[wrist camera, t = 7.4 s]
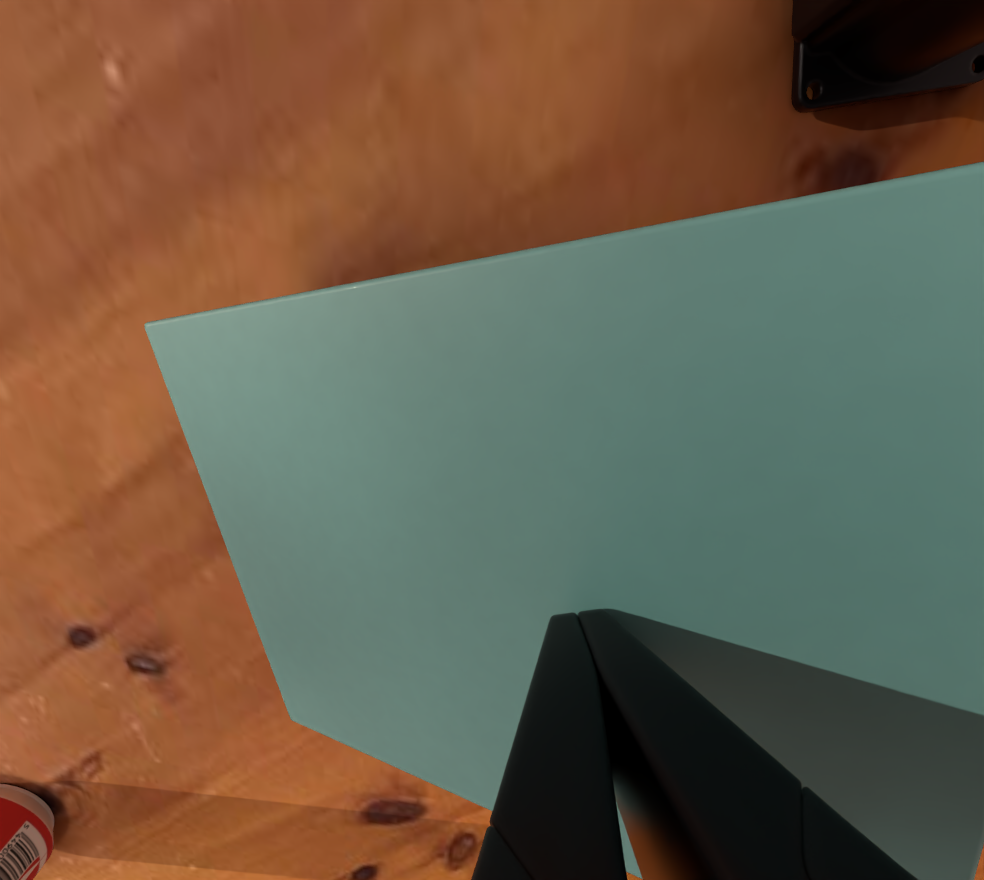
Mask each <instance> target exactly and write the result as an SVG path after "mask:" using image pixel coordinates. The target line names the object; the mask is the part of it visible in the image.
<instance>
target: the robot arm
mask: <svg viewBox="0 0 984 880" xmlns="http://www.w3.org/2000/svg"><path fill="white" fill-rule="evenodd" d="M792 36H793V38H794V57H793V78H792V105H793V106H794V108H795V109H796V110H797V111H799V112H811V111H818V110H824V109H830V108H836V107H842V106H849V105H855V104H861V103H867V102H874V101H880V100H886V99H892V98H898V97H905V96H911V95H917V94H923V93H930V92H936V91H942V90H948V89H954V88H961V87H966V86H968V85H971V84H973V83H976V82H978V81H981V80H983V79H984V0H793V15H792ZM973 62H974V63H975V70H974V72H973V70H972V63H973ZM808 87H810V88H811V89H812V90H813V93H814V95H813V99H812V100H811V99H809V98H808V97H807V93H806V92H807V88H808ZM616 802H617V804H616ZM617 805H618V808H619V811H620V814H621V817H622V820H623V823H624V826H625V829H626V831H627V834H628V837H629V840H630V843H631V846H632V849H633V852H634V855H635V858H636V861H637V864H638V867H639V870H640V873H641V876H642V879H643V880H918V879H917V878H916V877H914V876H913V875H912V874H911V873H909V872H908V871H907V870H905V869H904V868H903V867H902V866H900V865H899V864H898V863H897V862H896V861H894V860H893V859H892V858H891V857H890V856H888V855H887V854H886V853H885V852H884V851H883V850H881V849H880V848H879V847H878V846H877V845H875V844H874V843H873V842H872V841H871V840H869V839H868V838H867V837H866V836H865V835H863V834H862V833H861V832H860V831H859V830H857V829H856V828H855V827H854V826H853V825H851V824H850V823H849V822H848V821H847V820H846V819H844V818H843V817H842V816H841V815H840V814H838V813H837V812H836V811H835V810H834V809H833V808H832V807H830V806H829V805H828V804H827V803H826V802H825V801H824V800H822V799H821V798H820V797H819V796H818V795H817V794H816V793H814V792H813V791H812V790H811V789H810V788H808V787H803V788H802V784H801V781H800V780H799V779H798V778H797V777H796V776H794V775H793V774H792V773H791V772H790V771H789V770H788V769H786V768H785V767H784V766H783V765H782V764H781V763H780V762H778V761H777V760H776V759H775V758H774V757H773V756H772V755H770V754H769V753H768V752H767V751H766V750H765V749H763V748H762V747H761V746H760V745H759V744H758V743H757V742H755V741H754V740H753V739H752V738H751V737H750V736H749V735H747V734H746V733H745V732H744V731H743V730H742V729H741V728H739V727H738V726H737V725H736V724H735V723H734V722H732V721H731V720H730V719H729V718H728V717H727V716H726V715H724V714H723V713H722V712H721V711H720V710H719V709H718V708H716V707H715V706H714V705H713V704H712V703H711V702H709V701H708V700H707V699H706V698H705V697H704V696H703V695H701V694H700V693H699V692H698V691H697V690H696V689H695V688H693V687H692V686H691V685H690V684H689V683H688V682H687V681H685V680H684V679H683V678H682V677H681V676H680V675H678V674H677V673H676V672H675V671H674V670H673V669H672V668H670V667H669V666H668V665H667V664H666V663H665V662H664V661H662V660H661V659H660V658H659V657H658V656H657V655H656V654H654V653H653V652H652V651H651V650H650V649H649V648H647V647H646V646H645V645H644V644H643V643H642V642H641V641H639V640H638V639H637V638H636V637H635V636H634V635H633V634H631V633H630V632H629V631H628V630H627V629H626V628H625V627H623V626H622V625H621V624H620V623H619V622H618V621H616V620H615V619H614V618H613V617H612V616H611V615H610V614H608V613H607V612H606V611H605V610H603V609H594V610H586V611H580V612H579V613H578V615H577V614H576V613H573V612H571V613H564V614H557V615H553V616H551V618H550V620H549V623H548V627H547V630H546V633H545V637H544V640H543V643H542V647H541V650H540V654H539V657H538V660H537V664H536V667H535V670H534V674H533V677H532V680H531V684H530V687H529V690H528V694H527V697H526V701H525V704H524V707H523V711H522V714H521V717H520V721H519V724H518V727H517V731H516V734H515V737H514V741H513V744H512V748H511V751H510V754H509V758H508V761H507V764H506V768H505V771H504V774H503V778H502V781H501V784H500V788H499V791H498V795H497V798H496V801H495V805H494V808H493V811H492V815H491V818H490V825H491V826H489V827H488V828H487V830H486V834H485V837H484V840H483V844H482V847H481V850H480V854H479V857H478V860H477V864H476V867H475V870H474V873H473V876H472V879H471V880H627V875H626V868H625V861H624V854H623V847H622V840H621V833H620V825H619V818H618V811H617Z"/></svg>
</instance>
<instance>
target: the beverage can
mask: <svg viewBox="0 0 984 880" xmlns="http://www.w3.org/2000/svg"><path fill="white" fill-rule="evenodd" d="M53 828H54V816H53V813H52V811H51V809H50V808H49V806H48V805H47V804H46V803H45V802H44V801H43V800H42V799H41V798H39V797H38V796H37V795H35V794H33V793H31V792H30V791H27V790H25V789H22V788H19V787H16V786H12V785H7V784H0V880H33V878H34V877H35V876H36V874H37V873H38V872H39V870H40V869H41V868H42V866H43V865H44V864H45V862H46V861H47V860H48V858H49V857H50V855H51V853H52V850H53V844H54V841H53Z"/></svg>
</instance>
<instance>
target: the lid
mask: <svg viewBox="0 0 984 880" xmlns="http://www.w3.org/2000/svg"><path fill="white" fill-rule="evenodd" d="M145 330H146V333H147V335H148V338H149V341H150V343H151V346H152V349H153V351H154V354H155V357H156V359H157V362H158V365H159V367H160V370H161V373H162V375H163V378H164V381H165V383H166V386H167V389H168V391H169V394H170V397H171V400H172V402H173V405H174V408H175V410H176V413H177V416H178V418H179V421H180V424H181V426H182V429H183V432H184V434H185V437H186V440H187V442H188V445H189V448H190V450H191V453H192V456H193V458H194V461H195V464H196V467H197V469H198V472H199V475H200V477H201V480H202V483H203V485H204V488H205V491H206V493H207V496H208V499H209V501H210V504H211V507H212V509H213V512H214V515H215V517H216V520H217V523H218V525H219V528H220V531H221V534H222V536H223V539H224V542H225V544H226V547H227V550H228V552H229V555H230V558H231V560H232V563H233V566H234V568H235V571H236V574H237V576H238V579H239V582H240V584H241V587H242V590H243V592H244V595H245V598H246V601H247V603H248V606H249V609H250V611H251V614H252V617H253V619H254V622H255V625H256V627H257V630H258V633H259V635H260V638H261V641H262V643H263V646H264V649H265V651H266V654H267V657H268V659H269V662H270V665H271V668H272V670H273V673H274V676H275V678H276V681H277V684H278V686H279V689H280V692H281V694H282V697H283V700H284V702H285V705H286V708H287V710H288V713H289V716H290V718H291V720H292V721H295V722H297V723H299V724H301V725H303V726H306V727H308V728H310V729H312V730H314V731H317V732H319V733H321V734H323V735H325V736H328V737H330V738H332V739H334V740H337V741H339V742H341V743H343V744H345V745H348V746H350V747H352V748H354V749H356V750H359V751H361V752H363V753H365V754H367V755H370V756H372V757H374V758H376V759H378V760H381V761H383V762H385V763H387V764H389V765H392V766H394V767H396V768H398V769H401V770H403V771H405V772H407V773H409V774H412V775H414V776H416V777H418V778H420V779H423V780H425V781H427V782H429V783H431V784H434V785H436V786H438V787H440V788H442V789H445V790H447V791H449V792H451V793H454V794H456V795H458V796H460V797H462V798H465V799H467V800H469V801H471V802H473V803H476V804H478V805H480V806H482V807H484V808H487V809H489V810H491V811H493V808H494V805H495V801H496V798H497V795H498V791H499V788H500V784H501V781H502V778H503V774H504V771H505V768H506V764H507V761H508V758H509V754H510V751H511V748H512V744H513V741H514V737H515V734H516V731H517V727H518V724H519V721H520V717H521V714H522V711H523V707H524V704H525V701H526V697H527V694H528V690H529V687H530V684H531V680H532V677H533V674H534V670H535V667H536V664H537V660H538V657H539V654H540V650H541V647H542V643H543V640H544V637H545V633H546V630H547V627H548V623H549V620H550V618H551V616H553V615H557V614H564V613H571V612H573V613H576V614H577V615H578V613H579V612H580V611H586V610H594V609H603V610H605V611H606V612H607V613H608V614H610V615H611V616H612V617H613V618H614V619H615V620H616V621H618V622H619V623H620V624H621V625H622V626H623V627H625V628H626V629H627V630H628V631H629V632H630V633H631V634H633V635H634V636H635V637H636V638H637V639H638V640H639V641H641V642H642V643H643V644H644V645H645V646H646V647H647V648H649V649H650V650H651V651H652V652H653V653H654V654H656V655H657V656H658V657H659V658H660V659H661V660H662V661H664V662H665V663H666V664H667V665H668V666H669V667H670V668H672V669H673V670H674V671H675V672H676V673H677V674H678V675H680V676H681V677H682V678H683V679H684V680H685V681H687V682H688V683H689V684H690V685H691V686H692V687H693V688H695V689H696V690H697V691H698V692H699V693H700V694H701V695H703V696H704V697H705V698H706V699H707V700H708V701H709V702H711V703H712V704H713V705H714V706H715V707H716V708H718V709H719V710H720V711H721V712H722V713H723V714H724V715H726V716H727V717H728V718H729V719H730V720H731V721H732V722H734V723H735V724H736V725H737V726H738V727H739V728H741V729H742V730H743V731H744V732H745V733H746V734H747V735H749V736H750V737H751V738H752V739H753V740H754V741H755V742H757V743H758V744H759V745H760V746H761V747H762V748H763V749H765V750H766V751H767V752H768V753H769V754H770V755H772V756H773V757H774V758H775V759H776V760H777V761H778V762H780V763H781V764H782V765H783V766H784V767H785V768H786V769H788V770H789V771H790V772H791V773H792V774H793V775H794V776H796V777H797V778H798V779H799V780H800V781H801V784H802V788H803V787H808V788H810V789H811V790H812V791H813V792H814V793H816V794H817V795H818V796H819V797H820V798H821V799H822V800H824V801H825V802H826V803H827V804H828V805H829V806H830V807H832V808H833V809H834V810H835V811H836V812H837V813H838V814H840V815H841V816H842V817H843V818H844V819H846V820H847V821H848V822H849V823H850V824H851V825H853V826H854V827H855V828H856V829H857V830H859V831H860V832H861V833H862V834H863V835H865V836H866V837H867V838H868V839H869V840H871V841H872V842H873V843H874V844H875V845H877V846H878V847H879V848H880V849H881V850H883V851H884V852H885V853H886V854H887V855H888V856H890V857H891V858H892V859H893V860H894V861H896V862H897V863H898V864H899V865H900V866H902V867H903V868H904V869H905V870H907V871H908V872H909V873H911V874H912V875H913V876H914V877H916V878H917V879H918V880H974V877H975V874H976V870H977V866H978V863H979V859H980V855H981V852H982V848H983V845H984V162H979V163H974V164H969V165H964V166H958V167H953V168H948V169H943V170H938V171H932V172H927V173H922V174H917V175H912V176H906V177H901V178H896V179H891V180H886V181H880V182H875V183H870V184H865V185H860V186H854V187H849V188H844V189H839V190H833V191H828V192H823V193H818V194H813V195H807V196H802V197H797V198H792V199H787V200H781V201H776V202H771V203H766V204H761V205H755V206H750V207H745V208H740V209H735V210H729V211H724V212H719V213H714V214H709V215H703V216H698V217H693V218H688V219H683V220H677V221H672V222H667V223H662V224H656V225H651V226H646V227H641V228H636V229H630V230H625V231H620V232H615V233H610V234H604V235H599V236H594V237H589V238H584V239H578V240H573V241H568V242H563V243H558V244H552V245H547V246H542V247H537V248H532V249H526V250H521V251H516V252H511V253H506V254H500V255H495V256H490V257H485V258H479V259H474V260H469V261H464V262H459V263H453V264H448V265H443V266H438V267H433V268H427V269H422V270H417V271H412V272H407V273H401V274H396V275H391V276H386V277H381V278H375V279H370V280H365V281H360V282H355V283H349V284H344V285H339V286H334V287H329V288H323V289H318V290H313V291H308V292H302V293H297V294H292V295H287V296H282V297H276V298H271V299H266V300H261V301H256V302H250V303H245V304H240V305H235V306H230V307H224V308H219V309H214V310H209V311H204V312H198V313H193V314H188V315H183V316H178V317H172V318H167V319H162V320H157V321H152V322H147V323H146V324H145ZM616 804H617V802H616ZM617 811H618V818H619V825H620V833H621V840H622V847H623V854H624V861H625V868H626V872H628V873H630V874H632V875H635V876H637V877H639V878H641V879H642V876H641V873H640V870H639V867H638V864H637V861H636V858H635V855H634V852H633V849H632V846H631V843H630V840H629V837H628V834H627V831H626V829H625V826H624V823H623V820H622V817H621V814H620V811H619V808H618V805H617Z"/></svg>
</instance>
